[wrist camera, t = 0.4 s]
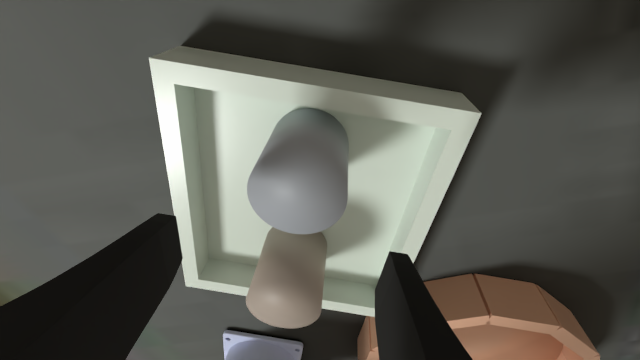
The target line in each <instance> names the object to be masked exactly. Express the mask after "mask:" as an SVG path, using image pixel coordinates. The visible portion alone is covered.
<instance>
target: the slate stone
mask: <svg viewBox="0 0 640 360" xmlns="http://www.w3.org/2000/svg"><path fill="white" fill-rule="evenodd" d="M348 152H349V142H348V137H347V133H346V131H345V129H344V127H343V126H342V124H341V123H340V122H339V121H338V120H337V119H336V118H335V117H334V116H332V115H331V114H329V113H327V112H325V111H322V110H319V109H315V108H302V109H297V110H294V111H291V112H289V113H288V114H286V115H285V116H283V117H282V118H281V119H280V120H279V122H278V123H277V124H276V126H275V128H274V130H273V132H272V134H271V136H270V138H269V139H268V141H267V143H266V145H265V147H264V149H263V151H262V153H261V155H260V157H259V159H258V161H257V162H256V164H255V166H254V168H253V170H252V172H251V174H250V176H249V179H248V183H247V195H248V199H249V202H250V204H251V206H252V208H253V210H254V211H255V212H256V214H257V215H258V216H259V217H260V218H261V219H262V220H263V221H265V222H266V223H267V224H269V225H270V226H272V227H274V228H276V229H278V230H281V231H284V232H287V233H292V234H312V233H317V232H320V231H323V230H325V229H328V228H329V227H331V226H332V225H334V224H335V223H336V222H337V221H338V220H339V219H340V218H341V216H342V215H343V213H344V211H345V209H346V206H347V200H348Z"/></svg>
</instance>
